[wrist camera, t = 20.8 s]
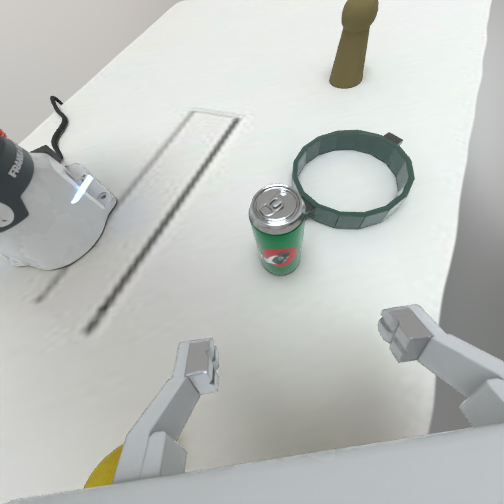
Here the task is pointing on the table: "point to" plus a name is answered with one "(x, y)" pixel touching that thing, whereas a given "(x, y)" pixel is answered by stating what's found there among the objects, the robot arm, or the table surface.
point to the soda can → (278, 227)
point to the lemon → (105, 470)
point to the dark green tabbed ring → (364, 142)
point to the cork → (353, 42)
